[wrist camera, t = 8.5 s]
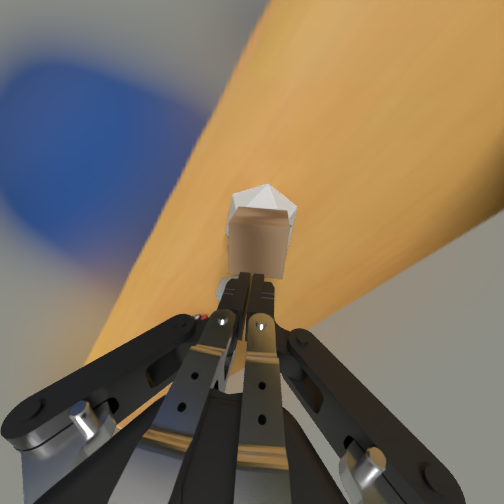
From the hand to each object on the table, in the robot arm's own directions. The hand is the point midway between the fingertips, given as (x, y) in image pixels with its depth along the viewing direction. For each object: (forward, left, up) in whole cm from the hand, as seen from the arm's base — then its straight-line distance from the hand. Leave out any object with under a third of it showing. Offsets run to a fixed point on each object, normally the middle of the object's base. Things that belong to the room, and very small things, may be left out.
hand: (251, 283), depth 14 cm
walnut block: (0, 0, -9) cm, 9 cm away
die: (0, 0, -17) cm, 17 cm away
